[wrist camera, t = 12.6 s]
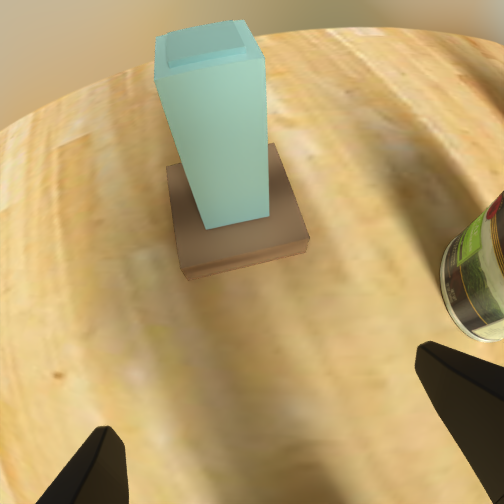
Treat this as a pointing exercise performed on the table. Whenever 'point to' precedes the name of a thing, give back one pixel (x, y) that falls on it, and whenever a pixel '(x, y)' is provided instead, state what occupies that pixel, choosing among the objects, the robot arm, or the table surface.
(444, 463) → the table surface
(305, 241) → the walnut block
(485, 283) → the coffee can
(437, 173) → the table surface
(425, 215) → the table surface
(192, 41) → the pale teal tapered block
